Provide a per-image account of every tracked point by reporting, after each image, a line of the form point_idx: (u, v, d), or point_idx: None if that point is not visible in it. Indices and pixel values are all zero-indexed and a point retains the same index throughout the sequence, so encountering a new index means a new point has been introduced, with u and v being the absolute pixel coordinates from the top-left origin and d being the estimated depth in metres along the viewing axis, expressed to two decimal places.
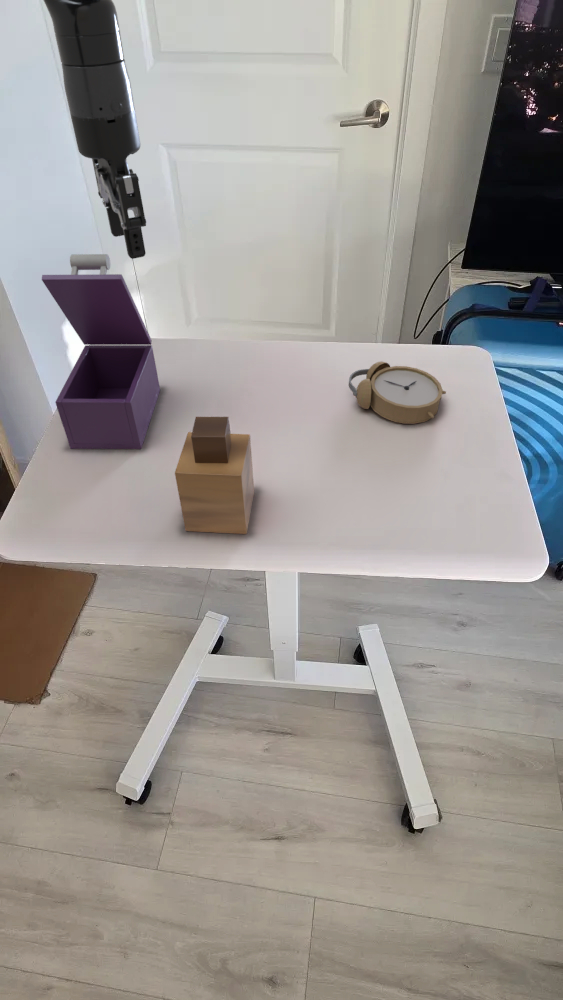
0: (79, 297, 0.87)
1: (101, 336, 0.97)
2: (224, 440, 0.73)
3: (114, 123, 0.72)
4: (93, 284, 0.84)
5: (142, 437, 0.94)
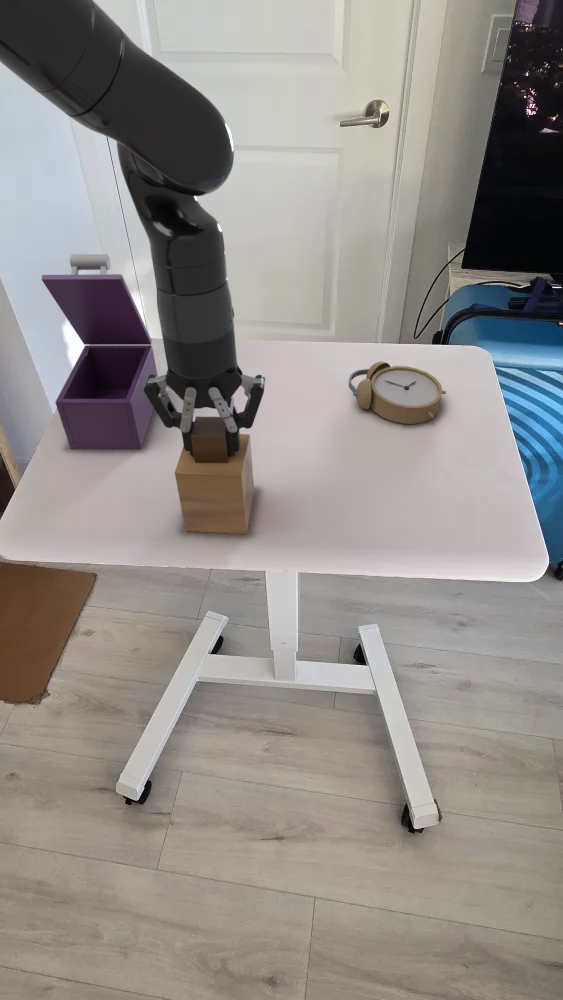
0: (79, 297, 0.87)
1: (101, 336, 0.97)
2: (224, 440, 0.73)
3: None
4: (93, 284, 0.84)
5: (142, 437, 0.94)
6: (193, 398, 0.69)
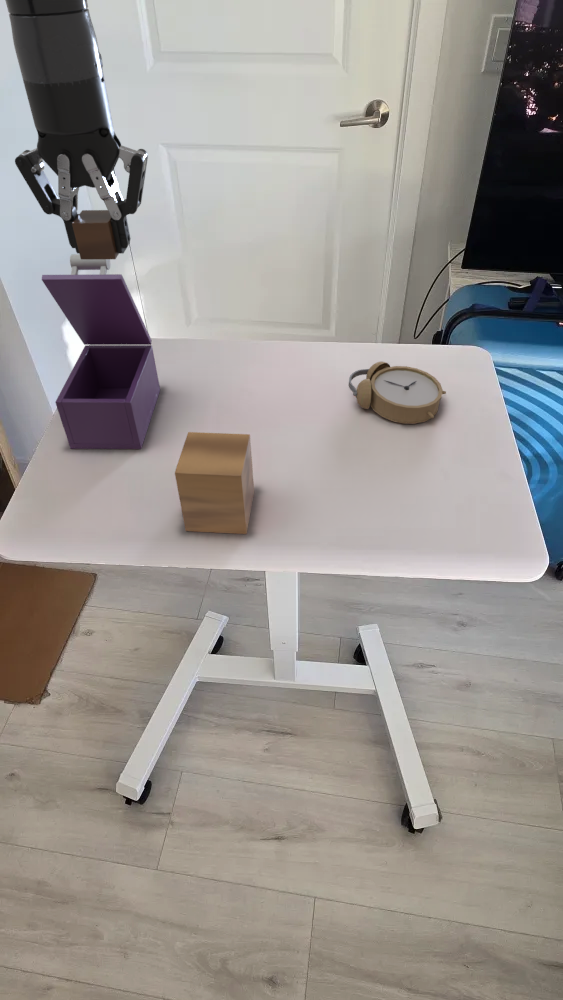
0: (79, 297, 0.87)
1: (101, 336, 0.97)
2: (107, 227, 0.67)
3: (104, 82, 0.60)
4: (93, 284, 0.84)
5: (142, 437, 0.94)
6: (67, 169, 0.64)
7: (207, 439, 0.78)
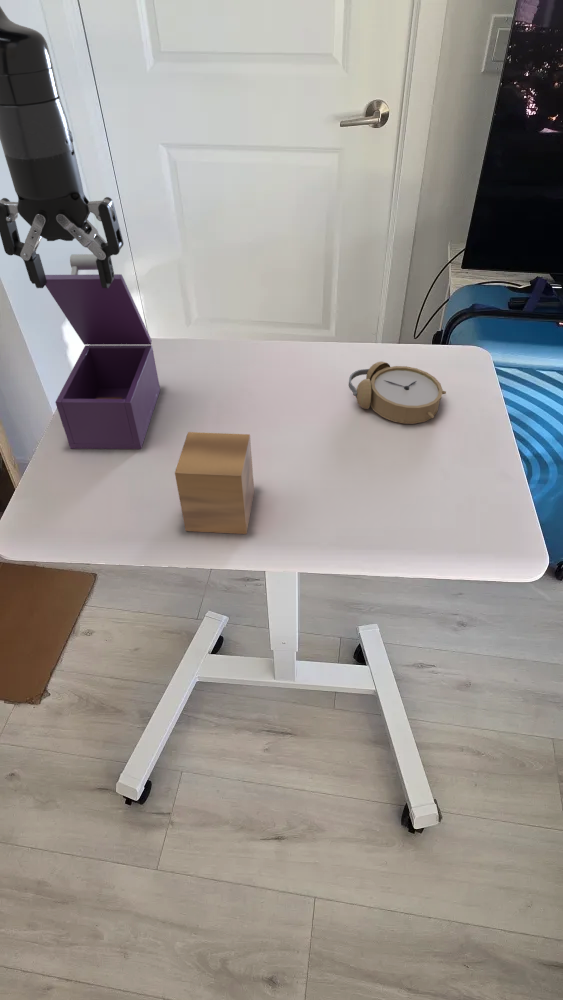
0: (79, 297, 0.87)
1: (101, 336, 0.97)
2: None
3: (74, 154, 0.70)
4: (93, 284, 0.84)
5: (142, 437, 0.94)
6: (43, 226, 0.74)
7: (207, 439, 0.78)
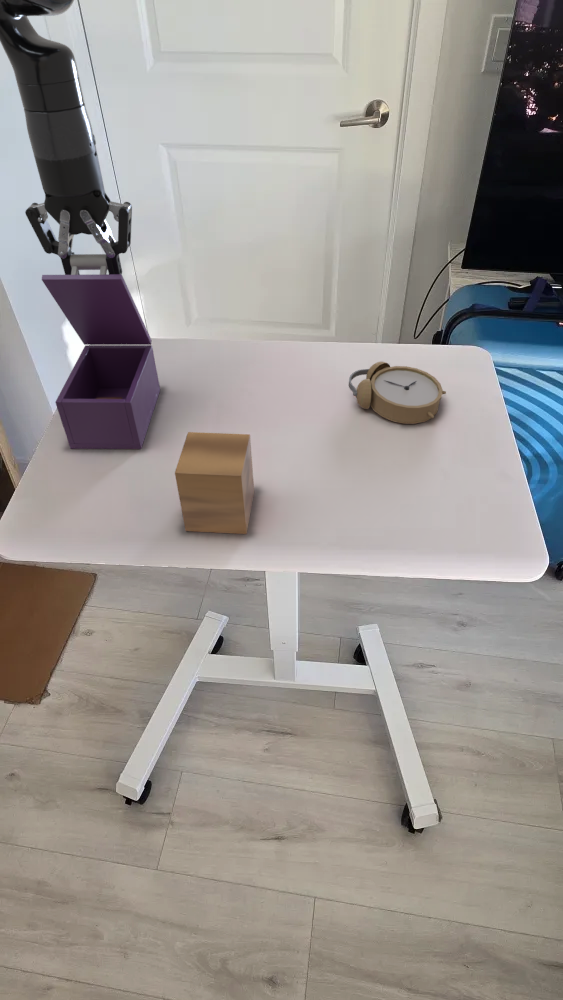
0: (79, 297, 0.87)
1: (101, 336, 0.97)
2: None
3: (96, 155, 0.78)
4: (93, 284, 0.84)
5: (142, 437, 0.94)
6: (68, 221, 0.81)
7: (207, 439, 0.78)
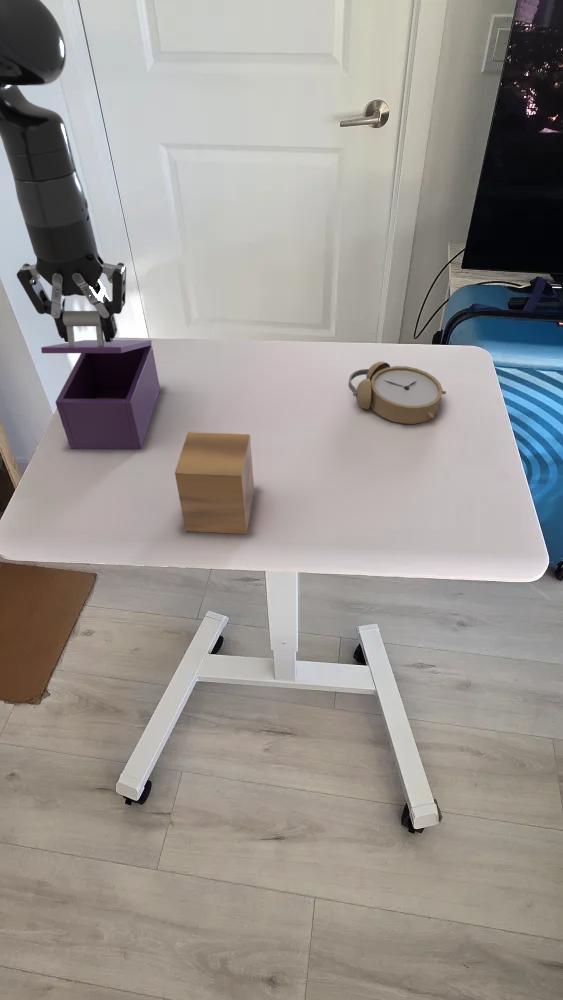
0: None
1: None
2: None
3: (89, 219, 0.75)
4: None
5: (142, 437, 0.94)
6: (60, 284, 0.79)
7: (207, 439, 0.78)
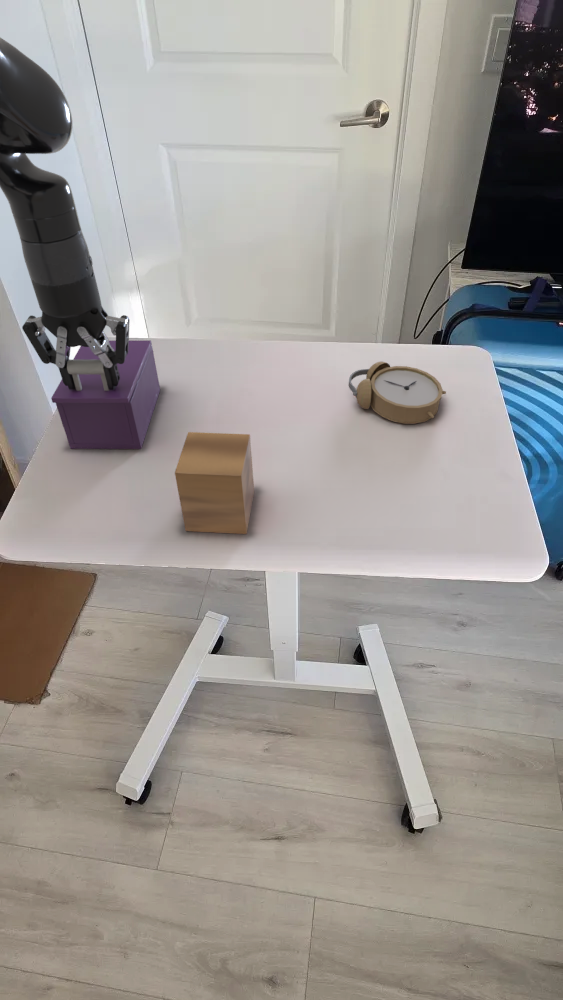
0: None
1: None
2: None
3: (93, 275, 0.77)
4: None
5: (142, 437, 0.94)
6: (65, 336, 0.81)
7: (207, 439, 0.78)
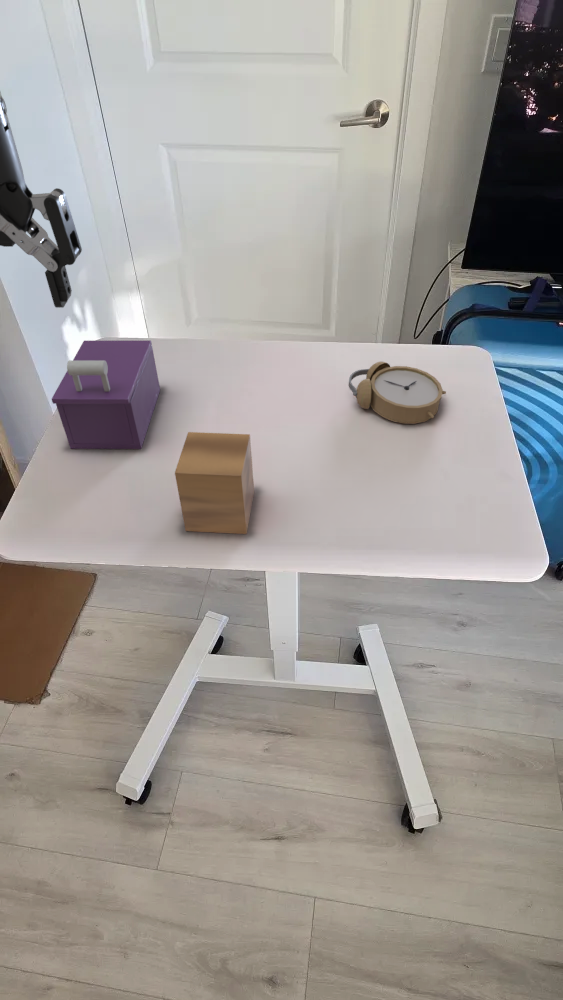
0: None
1: None
2: None
3: (8, 130, 0.52)
4: None
5: (142, 437, 0.94)
6: None
7: (207, 439, 0.78)
